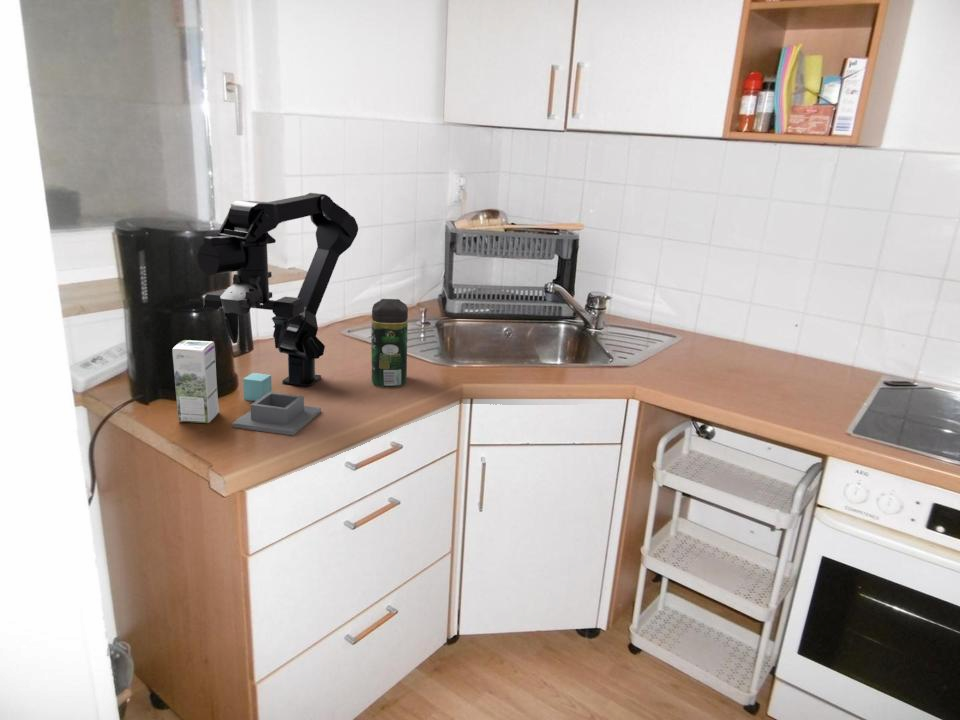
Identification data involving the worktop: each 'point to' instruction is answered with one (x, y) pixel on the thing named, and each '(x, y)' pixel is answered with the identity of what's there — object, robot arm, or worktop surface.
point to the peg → (256, 386)
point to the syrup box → (195, 381)
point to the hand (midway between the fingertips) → (256, 345)
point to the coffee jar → (389, 343)
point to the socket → (277, 414)
